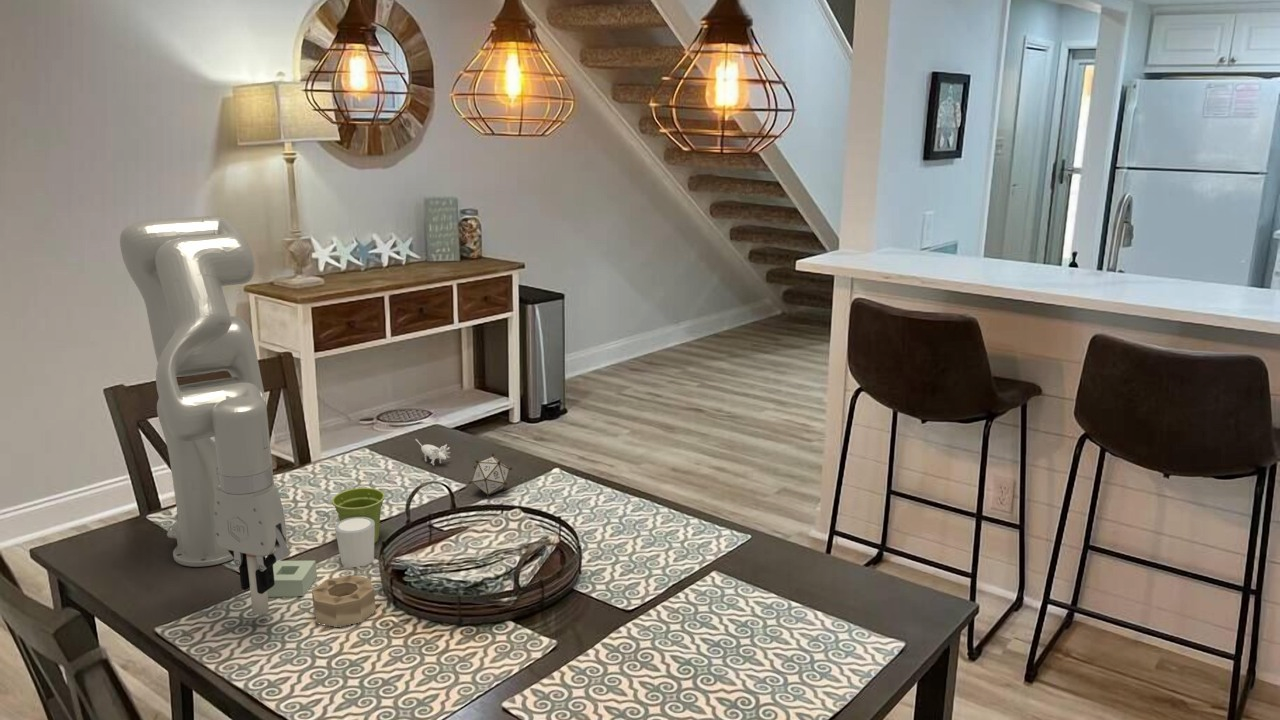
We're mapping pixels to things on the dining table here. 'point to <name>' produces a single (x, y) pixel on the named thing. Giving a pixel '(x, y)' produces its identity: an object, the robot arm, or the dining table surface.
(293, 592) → the green square-hole block
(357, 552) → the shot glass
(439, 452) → the white triceratops figurine
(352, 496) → the plant pot
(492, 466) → the game die
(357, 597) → the bead
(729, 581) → the dining table surface
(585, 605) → the dining table surface
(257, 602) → the red-capped white cylinder
